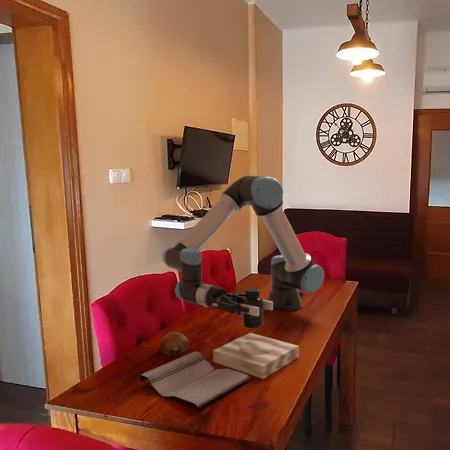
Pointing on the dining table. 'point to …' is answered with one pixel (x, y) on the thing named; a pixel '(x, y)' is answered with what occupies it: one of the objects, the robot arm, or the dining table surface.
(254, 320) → the supplement bottle
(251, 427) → the dining table surface
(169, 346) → the bread roll
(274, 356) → the stand
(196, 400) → the mat
